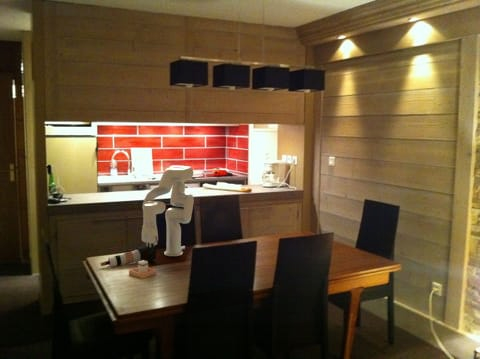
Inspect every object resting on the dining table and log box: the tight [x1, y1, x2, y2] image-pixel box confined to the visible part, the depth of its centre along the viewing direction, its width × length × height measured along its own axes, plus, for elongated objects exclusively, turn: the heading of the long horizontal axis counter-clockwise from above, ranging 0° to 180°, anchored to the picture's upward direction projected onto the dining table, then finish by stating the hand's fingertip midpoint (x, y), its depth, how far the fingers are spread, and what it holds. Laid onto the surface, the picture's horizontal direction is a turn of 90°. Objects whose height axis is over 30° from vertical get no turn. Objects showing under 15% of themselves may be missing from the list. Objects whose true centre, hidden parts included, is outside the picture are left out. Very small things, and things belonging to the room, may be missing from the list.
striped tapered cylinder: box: [100, 244, 157, 268], centre depth 280 cm, size 10×34×10 cm, turn 119°
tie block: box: [137, 260, 149, 274], centre depth 263 cm, size 4×4×7 cm
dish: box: [128, 266, 157, 280], centre depth 263 cm, size 11×11×3 cm
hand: (150, 252), depth 276 cm, fingers closed
